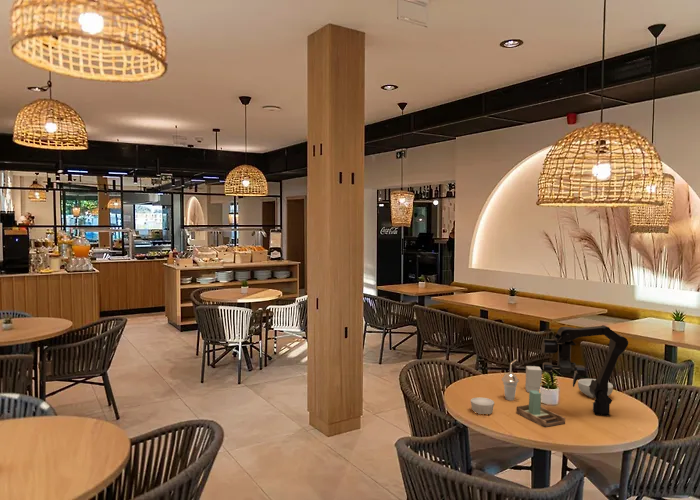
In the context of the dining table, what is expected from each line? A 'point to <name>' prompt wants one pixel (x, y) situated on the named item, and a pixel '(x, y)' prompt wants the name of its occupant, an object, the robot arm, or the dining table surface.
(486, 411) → the ramekin
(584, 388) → the cereal bowl
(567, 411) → the dining table surface
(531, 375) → the supplement box
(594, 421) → the dining table surface
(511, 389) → the cup with straw
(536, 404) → the block
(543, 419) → the tray
